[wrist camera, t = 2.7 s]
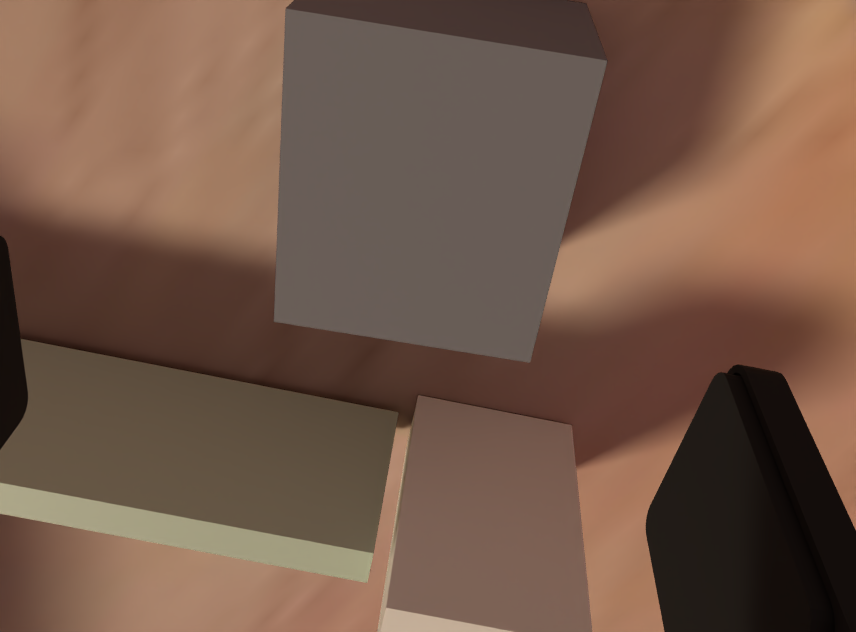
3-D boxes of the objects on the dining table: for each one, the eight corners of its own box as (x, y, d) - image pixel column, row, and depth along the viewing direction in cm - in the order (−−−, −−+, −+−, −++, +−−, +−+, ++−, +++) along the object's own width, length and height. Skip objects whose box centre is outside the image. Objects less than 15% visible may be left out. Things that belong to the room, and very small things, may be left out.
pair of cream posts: (574, 417, 26) (597, 638, 19) (549, 484, 27) (563, 709, 21) (-269, 253, 25) (-554, 422, 18) (-242, 331, 27) (-494, 513, 20)
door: (399, 407, 26) (373, 557, 21) (391, 444, 27) (364, 596, 21) (-179, 295, 25) (-351, 420, 20) (-168, 336, 26) (-329, 466, 21)
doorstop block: (585, 1, 19) (607, 60, 15) (525, 259, 23) (529, 362, 19) (334, -39, 19) (285, 8, 15) (316, 225, 23) (273, 321, 19)
